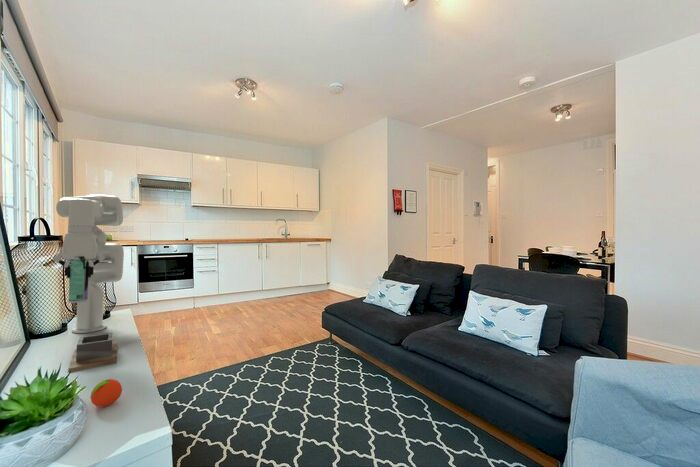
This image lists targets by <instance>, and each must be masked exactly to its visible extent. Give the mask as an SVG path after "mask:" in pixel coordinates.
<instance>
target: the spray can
mask: <svg viewBox="0 0 700 467" xmlns="http://www.w3.org/2000/svg"><path fill="white" fill-rule="evenodd" d="M88 267H89V262H88V260H87V259H86V258H84V256H74V258H73V259H72V260H71V262H70V278H69V282H68V284H69V285H68V303H70V304H75V303H76V304H77V303H79V302H85V301H87V300H88Z"/></svg>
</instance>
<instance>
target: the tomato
mask: <svg viewBox="0 0 700 467" xmlns="http://www.w3.org/2000/svg"><path fill="white" fill-rule="evenodd" d="M122 392H123V387H122V384H121V382H119V381H118V380H117V379H114V378H113V379H112V378H109V379H105V380H101V381H100V382H99V383H97V384H96V385H95V386H94V387H93V388H92V391H91V393H90V401H91V403H92V404H93V405H94V406H96V407H99V408H106V407H109V406H112V405H114V404H115V403H116V402H117V401H118V400H119V399H120V397H121V395H122Z"/></svg>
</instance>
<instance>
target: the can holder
mask: <svg viewBox="0 0 700 467" xmlns="http://www.w3.org/2000/svg"><path fill="white" fill-rule="evenodd" d="M117 350H118V342H115V343H113V332H107V333H100V334H92V335H86V336H85V335H84V336H79V338H78V341H77V343H76V348H75V349H74V350H73V351H74V352H73V354H72V358H71V360H70V363H69V366H68V368H67V369H68V371H67V372H68V373H71V372H70V371H72V372H77V371H82V370H87V369H93V368H98V367H99V368H100V367H103V366H109V365H115V364H117V358H118V355H117V354H118V351H117Z"/></svg>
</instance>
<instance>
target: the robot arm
mask: <svg viewBox="0 0 700 467" xmlns="http://www.w3.org/2000/svg"><path fill="white" fill-rule="evenodd" d="M55 211H56V213H57V214H58V215H59V216H60V217H62V218H67V219H68V221H67V222H68V223H67V233H65V235H64V237H63V238H64V239H63V242H62V249H61V251H60V252H58V253H57V254H56V255H55V256H53V257H52V259H53V261H55V262H56V263H58V264H59V265H61V266H62V267H63V268H64V276H65V277H66V279H70V262H71V260H72V259H73V258H74V256H84V258H86V259H87V260H88V262H89V267H88V300H87V301H85V302H79V303H76V304H77V305H76V322H75V323H76V326H74V327H72V328H71V332H72V333H74V334H88V333H94V332H98V331H102V330H104V329H106V328H107V324H106V323H104V322H103V321H104V319H103V318H104V316H103V315H104V294H105V292H104V289H103V288H102V287H101V286H100V285H99V284H101V283H104V284H105V283H117V282H119V281H121V280H122V279H123V274H124V273H123V272H124V258H125V253H124V252H125V249H124V247H123V245H122V244H120V243H114V242H113V243H110V242H107V238H108V236H107V234H106V233H105V231H104V230H102V229H101V228H100V227H99V226H103V227H104V226H108V227H117V226H121V225H122V224H123V221H124V214H123V212H124V211H123V204H122V200H121V199H120V198H119V197H118V196H116V195H109V194H108V195H107V194H106V195H105V194H95V193H94V194H92V193H91V194H88V195H85V196H84V195H83V196H82V195H81V196H64V197H62V198H60V199H59V200H57V202H56V206H55ZM61 257H62V259H61Z"/></svg>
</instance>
